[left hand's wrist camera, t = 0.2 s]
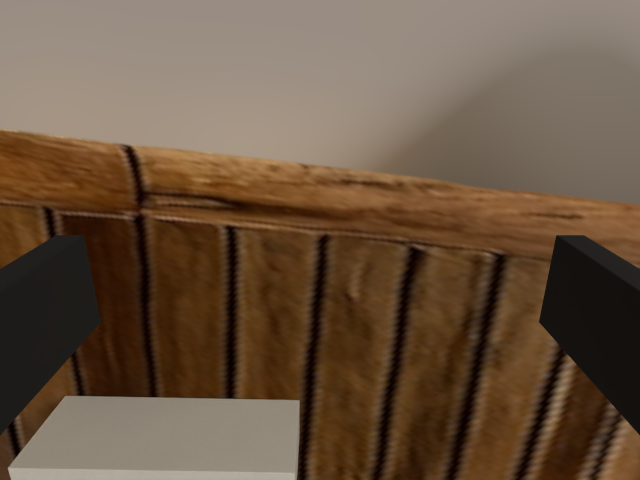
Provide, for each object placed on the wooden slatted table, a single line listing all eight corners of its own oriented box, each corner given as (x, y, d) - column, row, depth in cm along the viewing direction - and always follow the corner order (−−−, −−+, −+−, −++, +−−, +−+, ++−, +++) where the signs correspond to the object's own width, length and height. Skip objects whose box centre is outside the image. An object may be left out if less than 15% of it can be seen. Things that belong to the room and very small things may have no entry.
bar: (299, 399, 48) (294, 473, 39) (299, 437, 50) (294, 515, 41) (65, 395, 48) (7, 468, 39) (73, 433, 50) (20, 510, 41)
